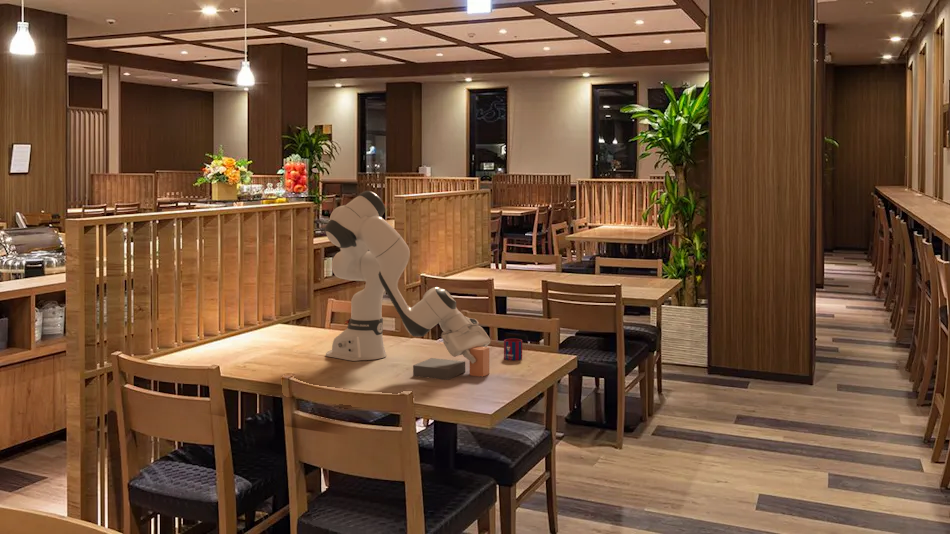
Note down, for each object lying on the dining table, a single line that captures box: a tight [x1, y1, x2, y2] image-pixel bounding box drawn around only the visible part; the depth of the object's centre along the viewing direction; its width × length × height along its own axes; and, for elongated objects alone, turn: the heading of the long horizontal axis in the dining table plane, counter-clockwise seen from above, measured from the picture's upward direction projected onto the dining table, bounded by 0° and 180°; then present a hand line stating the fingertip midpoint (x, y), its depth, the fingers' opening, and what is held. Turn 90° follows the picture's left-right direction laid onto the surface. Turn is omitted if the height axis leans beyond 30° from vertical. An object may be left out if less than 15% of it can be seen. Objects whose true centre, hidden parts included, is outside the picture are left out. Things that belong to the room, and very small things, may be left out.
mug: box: [503, 338, 523, 362], centre depth 318 cm, size 7×10×7 cm
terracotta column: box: [469, 346, 490, 378], centre depth 291 cm, size 5×5×9 cm
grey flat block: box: [412, 357, 466, 381], centre depth 292 cm, size 13×13×4 cm
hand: (481, 360), depth 291 cm, fingers closed on terracotta column, 5 cm apart
